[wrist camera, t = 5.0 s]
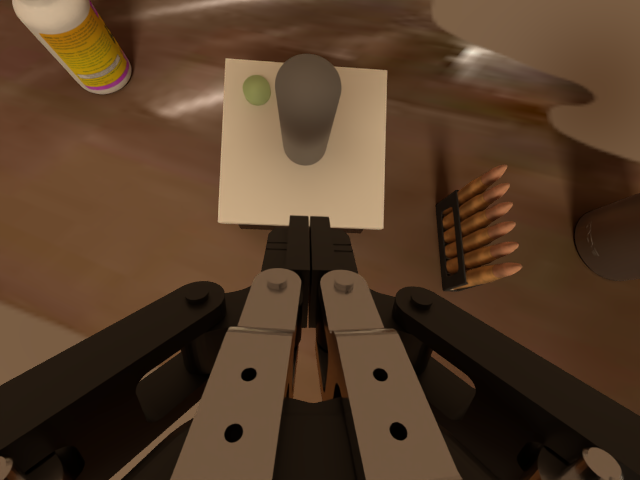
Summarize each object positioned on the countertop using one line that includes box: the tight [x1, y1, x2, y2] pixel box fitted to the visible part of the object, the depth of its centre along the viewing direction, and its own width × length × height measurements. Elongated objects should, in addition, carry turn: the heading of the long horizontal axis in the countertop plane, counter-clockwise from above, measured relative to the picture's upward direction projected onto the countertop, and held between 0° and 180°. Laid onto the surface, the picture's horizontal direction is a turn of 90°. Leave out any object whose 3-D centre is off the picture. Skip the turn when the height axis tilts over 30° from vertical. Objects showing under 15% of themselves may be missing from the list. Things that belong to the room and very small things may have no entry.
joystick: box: [218, 54, 387, 230], centre depth 24 cm, size 15×15×11 cm
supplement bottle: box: [12, 0, 131, 94], centre depth 34 cm, size 7×7×13 cm
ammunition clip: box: [436, 165, 522, 291], centre depth 32 cm, size 11×2×12 cm, turn 179°
